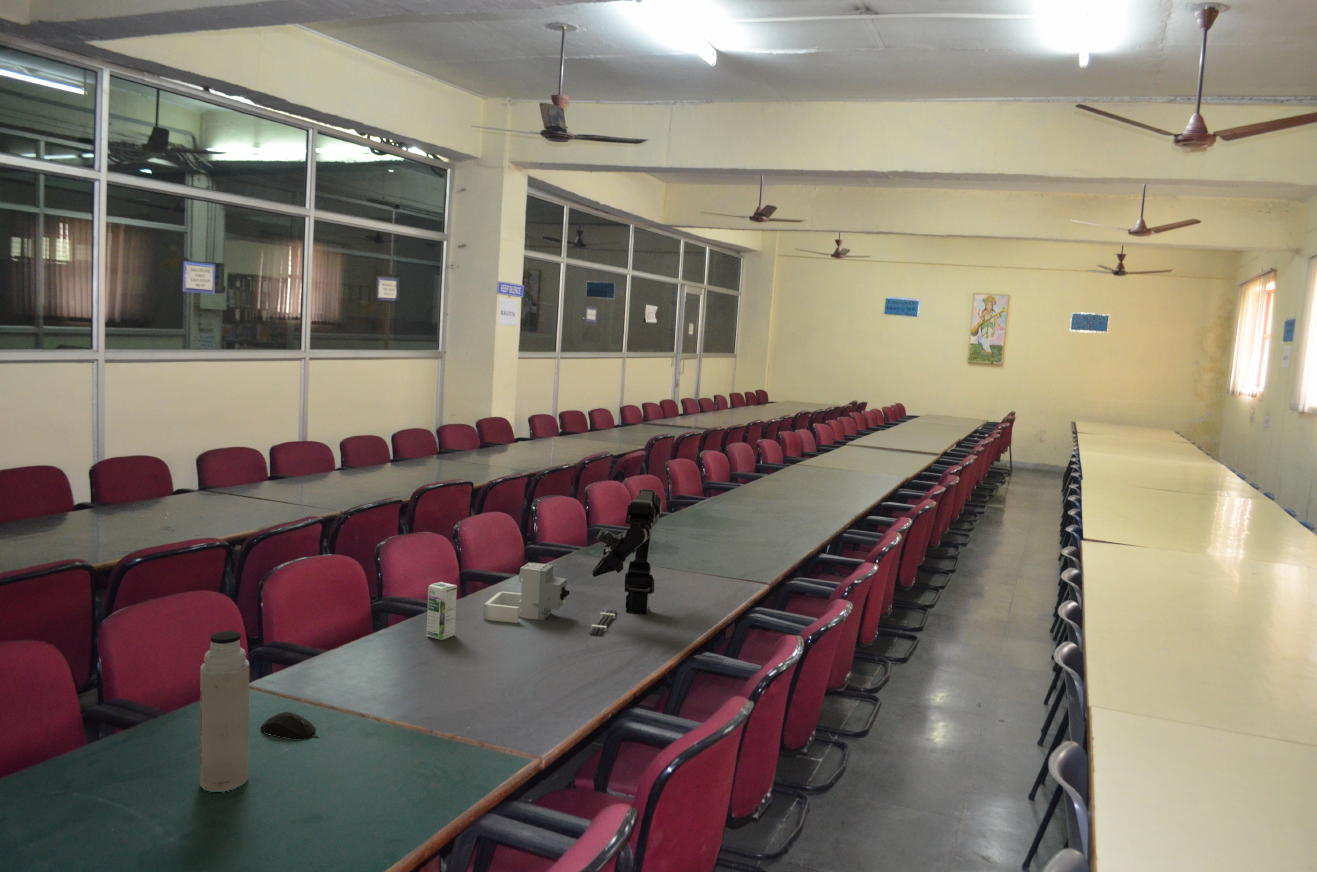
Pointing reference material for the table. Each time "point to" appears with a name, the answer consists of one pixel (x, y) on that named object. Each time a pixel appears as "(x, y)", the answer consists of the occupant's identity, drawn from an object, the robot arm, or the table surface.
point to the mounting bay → (502, 607)
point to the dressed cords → (602, 626)
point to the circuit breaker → (540, 591)
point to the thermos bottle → (224, 714)
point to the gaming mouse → (289, 726)
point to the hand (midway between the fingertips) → (593, 574)
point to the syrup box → (441, 610)
